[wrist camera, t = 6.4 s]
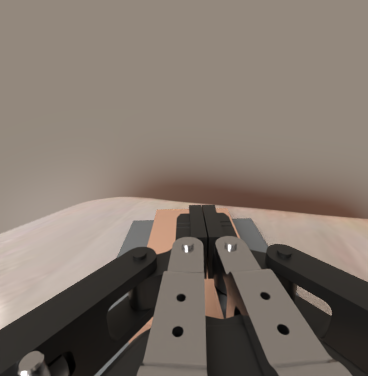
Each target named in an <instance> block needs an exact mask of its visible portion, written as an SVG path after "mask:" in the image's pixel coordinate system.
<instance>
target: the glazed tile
mask: <svg viewBox="0 0 368 376" xmlns="http://www.w3.org/2000/svg"><path fill="white" fill-rule="evenodd" d="M216 211H217V213H225V214H226V215H227V216H229V218H230V220H231V223H232V225H233V227H234V230H235V232H236V234H237V237H238V238H240V236H239V234H238V232H237V230H236V227H235V225H234V223H233V221H232V218H231V216H230V214H229V212H228V209H227V208H216ZM182 213H189V209H164V210H157V211H156V215H155V219H154V223H153V226H152V230H151V234H150V238H149V241H148V245H147V247H149V248H152V249H153V250H154V251H155V252H156V254H160V253H164V252H167V251H169V250H170V249H172V246H173V243H174V242H175V239H176V222H177V217H178V216H179V215H180V214H182ZM204 281H205V316H210V317H214V318H219V319H221V317H220V313H219V310H218V306H217V302H216V298H215V295H214V279H208V275H207V279H204ZM152 321H153V317H152V318H151V319H150V320H149V321H148V322H147V323H146V324H145V325H144V326H143V327H142V328H141V329H140V330H139V331H138V332H137V333H136V334H135V335H134V336H133V337H132V338H131V339H130V340H129V344H130V343H131V342H132V341H133V340H134V339H135V338H136V337H137V336H139V335H140V334H141V333H143V332H144V331H146V330H148V329H150V328H151V325H152Z"/></svg>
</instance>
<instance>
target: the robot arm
mask: <svg viewBox="0 0 368 376" xmlns="http://www.w3.org/2000/svg"><path fill="white" fill-rule="evenodd" d="M207 275H208V279H214V295H215V298H216V302H217V306H218V310H219V313H220V317H221V319H219V318H214V317H210V316H205V281H204V279H207ZM297 285H298V286H300V287H302V288H303V289H305V290H307V291H308V292H310V293H312V294H314V295H315V296H317V297H319V298H320V299H322V300H324V301H325V302H326V303H327V304H328V305H329V306H330V308H331V310H332V316H330V315H328V314H327V313H325V312H324V311H322V310H320V309H319V308H317V307H315V306H314V305H312V304H311V303H309V302H307V301H306V300H304V299H302V298H301V297H299V296H298V295H296V290H297ZM127 293H128V296H127V297H126V298H124V299H123V300H122V301H121V302H119V303H118V304H117V305H116V306H114V307H113V308H112V309H111V310H109V309H110V307H111V306H112V305H113V304H114V303H115V302H116V301H118V300H119V299H120V298H121V297H123V296H124V295H125V294H127ZM108 310H109V311H108ZM152 317H153V321H152V325H151V328H150V329H148V330H146V331H144V332H143V333H141V334H140V335H139V336H137V337H136V338H135V339H134V340H133V341H132V342H131V343H130V344H129V345H128V346H127V347H126V348H125V349H124V350H123V351H122V352H121V353H120V354H119V356H118V357H117V358H116V359H115V360H114V361H113V362H112V363H111V364H110V365H109V366H108V367H107V368H106V370H105V371H104V372H103V373H102V374H101V375H100V376H368V282H366V281H364V280H362V279H360V278H357V277H355V276H353V275H351V274H349V273H347V272H344V271H342V270H340V269H338V268H336V267H334V266H331V265H329V264H327V263H325V262H323V261H321V260H318V259H316V258H314V257H312V256H310V255H308V254H305V253H303V252H301V251H299V250H297V249H294V248H292V247H290V246H287V245H282V244H274V245H271V246H269V247H268V248H267V250H266V253H265V252H259V251H254V250H251V249H249V248H248V246H247V244H246V243H245V242H244V241H243V240H242V239H240V238H238V237H237V234H236V232H235V230H234V227H233V225H232V223H231V220H230V218H229V216H227V215H226V214H225V213H217V211H216V208H215V205H202V207H201V205H189V213H182V214H180V215H179V216H178V217H177V222H176V239H175V242H174V243H173V246H172V249H170V250H169V251H167V252H164V253H160V254H156V252H155V251H154V250H153V249H152V248H149V247H136V248H133V249H131V250H129V251H127V252H126V253H124V254H123V255H121V256H119V257H118V258H116V259H114V260H113V261H111V262H110V263H108V264H106V265H105V266H103V267H101V268H100V269H98V270H97V271H95V272H93V273H92V274H90V275H88V276H87V277H85V278H84V279H82V280H80V281H79V282H77V283H75V284H74V285H72V286H71V287H69V288H67V289H66V290H64V291H62V292H61V293H59V294H58V295H56V296H54V297H53V298H51V299H49V300H48V301H46V302H45V303H43V304H41V305H40V306H38V307H36V308H35V309H33V310H32V311H30V312H28V313H27V314H25V315H23V316H22V317H20V318H19V319H17V320H15V321H14V322H12V323H10V324H9V325H7V326H6V327H4V328H2V329H1V330H0V376H94V375H95V374H96V373H97V372H98V371H99V370H100V369H101V368H102V367H103V366H104V365H105V364H106V363H107V362H108V361H109V360H110V359H111V358H112V357H113V356H114V355H115V354H116V353H117V352H118V351H119V350H120V349H121V348H122V347H123V346H124V345H125V344H126V343H127V342H128V341H129V340H130V339H131V338H132V337H133V336H134V335H135V334H136V333H137V332H138V331H139V330H140V329H141V328H142V327H143V326H144V325H145V324H146V323H147V322H148V321H149V320H150V319H151V318H152Z"/></svg>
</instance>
